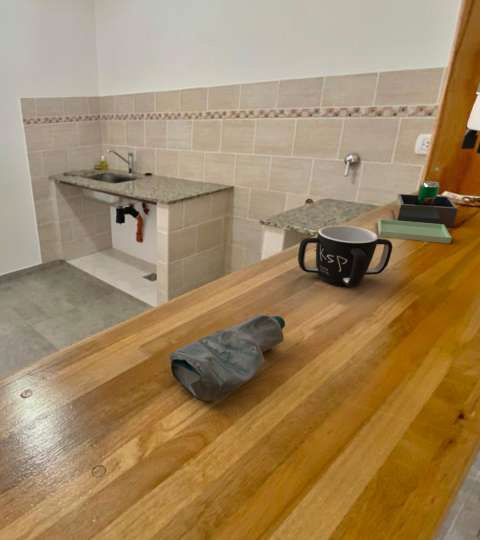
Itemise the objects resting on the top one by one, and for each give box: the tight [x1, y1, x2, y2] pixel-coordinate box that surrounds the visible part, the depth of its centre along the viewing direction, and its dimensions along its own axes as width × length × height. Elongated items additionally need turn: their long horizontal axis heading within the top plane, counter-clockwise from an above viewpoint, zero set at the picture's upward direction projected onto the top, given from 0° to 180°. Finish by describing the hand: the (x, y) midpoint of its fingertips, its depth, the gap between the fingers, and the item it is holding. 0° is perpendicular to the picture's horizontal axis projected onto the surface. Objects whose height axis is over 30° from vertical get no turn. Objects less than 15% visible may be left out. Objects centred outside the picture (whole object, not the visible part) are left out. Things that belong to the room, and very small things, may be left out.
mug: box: [297, 225, 394, 288], centre depth 91 cm, size 16×16×12 cm
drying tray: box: [377, 218, 452, 244], centre depth 118 cm, size 17×13×2 cm
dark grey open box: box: [393, 193, 459, 229], centre depth 129 cm, size 15×16×6 cm
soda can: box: [415, 180, 440, 206], centre depth 127 cm, size 5×5×12 cm
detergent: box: [169, 313, 286, 401], centre depth 65 cm, size 13×7×25 cm
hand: (474, 150), depth 114 cm, fingers open, 9 cm apart
